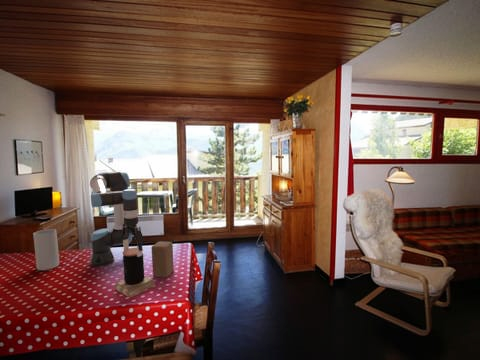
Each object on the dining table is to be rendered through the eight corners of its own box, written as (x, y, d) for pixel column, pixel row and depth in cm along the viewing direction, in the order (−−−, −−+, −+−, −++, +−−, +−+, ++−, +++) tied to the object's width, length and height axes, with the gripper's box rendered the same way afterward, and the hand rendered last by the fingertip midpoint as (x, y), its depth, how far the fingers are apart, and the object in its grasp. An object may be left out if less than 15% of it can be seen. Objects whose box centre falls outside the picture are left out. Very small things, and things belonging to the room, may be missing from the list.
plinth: (115, 289, 144) (115, 282, 144) (139, 278, 156) (138, 272, 156) (130, 297, 136) (130, 290, 135) (154, 285, 148) (153, 279, 147)
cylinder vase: (32, 269, 172) (28, 233, 169) (52, 261, 183) (48, 228, 181) (44, 272, 167) (40, 235, 164) (63, 264, 179) (60, 230, 176)
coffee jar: (128, 276, 150) (126, 247, 149) (146, 275, 151) (145, 247, 149) (121, 286, 140) (119, 255, 138) (141, 285, 141) (139, 254, 139)
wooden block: (167, 278, 156) (165, 247, 154) (152, 276, 158) (150, 246, 156) (174, 270, 166) (173, 241, 164) (160, 269, 168) (158, 240, 166)
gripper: (112, 215, 146) (114, 250, 148) (137, 222, 131) (139, 260, 134) (124, 212, 152) (126, 246, 154) (150, 218, 137) (152, 255, 140)
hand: (132, 253), depth 144 cm, fingers open, 13 cm apart
